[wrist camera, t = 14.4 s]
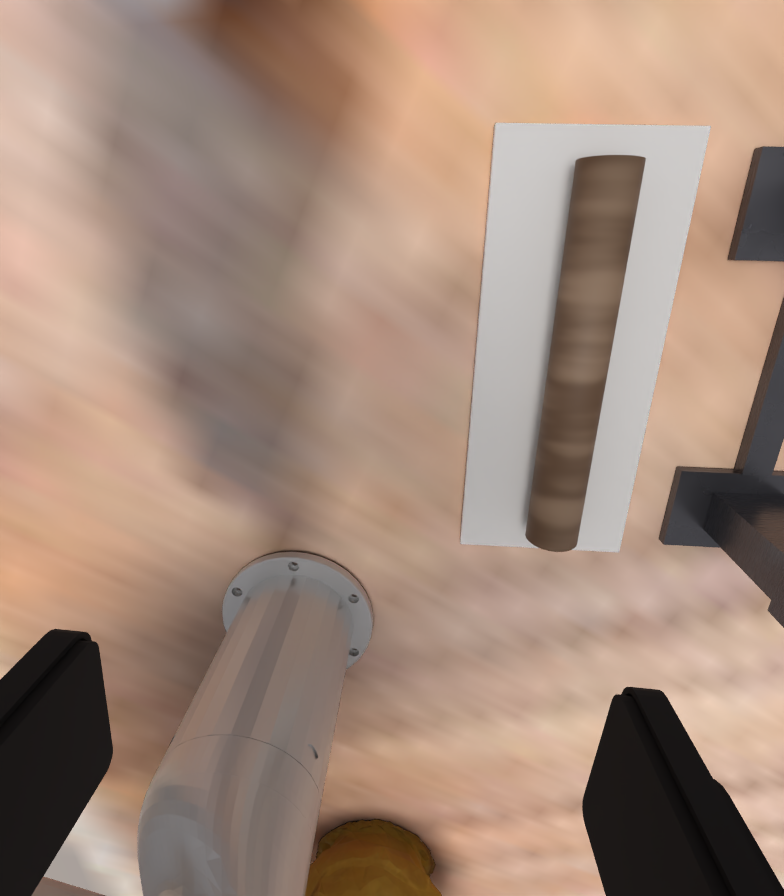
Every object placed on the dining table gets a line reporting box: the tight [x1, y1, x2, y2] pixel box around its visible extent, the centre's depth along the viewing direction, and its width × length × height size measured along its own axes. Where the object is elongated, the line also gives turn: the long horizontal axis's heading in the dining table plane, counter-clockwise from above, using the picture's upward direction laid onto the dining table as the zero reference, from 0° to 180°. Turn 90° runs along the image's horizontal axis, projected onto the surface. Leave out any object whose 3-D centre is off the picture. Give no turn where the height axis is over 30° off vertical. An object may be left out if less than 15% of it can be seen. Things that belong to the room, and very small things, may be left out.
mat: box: [460, 123, 711, 552], centre depth 35 cm, size 28×12×1 cm, turn 178°
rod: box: [525, 155, 646, 552], centre depth 33 cm, size 24×4×4 cm, turn 179°
